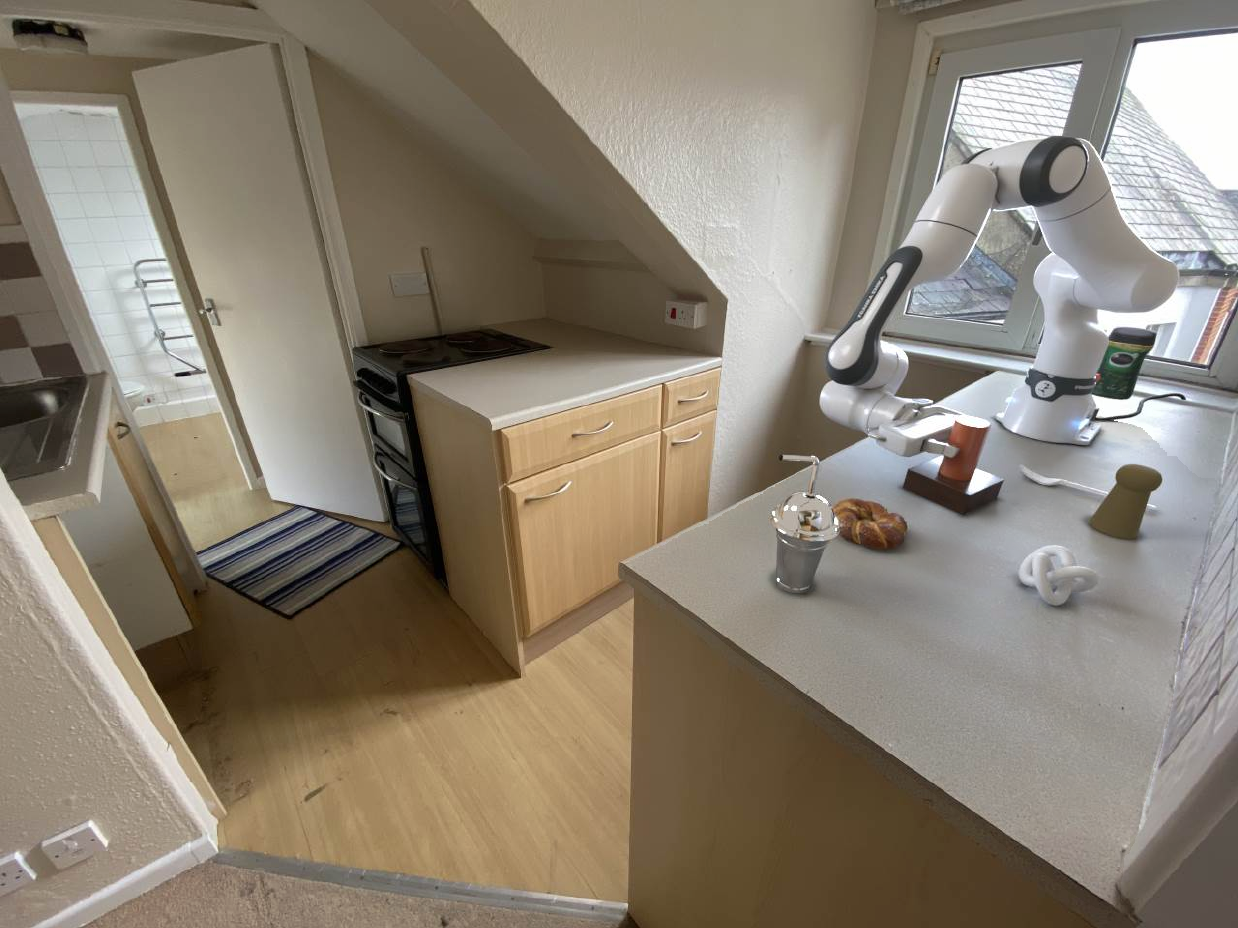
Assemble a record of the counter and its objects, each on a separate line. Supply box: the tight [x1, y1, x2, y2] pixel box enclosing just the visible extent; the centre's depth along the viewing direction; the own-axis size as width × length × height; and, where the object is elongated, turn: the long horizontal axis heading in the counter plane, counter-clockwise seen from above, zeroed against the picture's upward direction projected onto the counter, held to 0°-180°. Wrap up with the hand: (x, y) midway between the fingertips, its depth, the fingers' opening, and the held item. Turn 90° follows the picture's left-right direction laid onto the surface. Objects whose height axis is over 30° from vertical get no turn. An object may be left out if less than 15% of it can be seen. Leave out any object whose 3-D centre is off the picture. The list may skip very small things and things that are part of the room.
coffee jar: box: [1091, 326, 1157, 401], centre depth 142 cm, size 10×8×19 cm
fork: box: [1018, 463, 1157, 511], centre depth 96 cm, size 3×20×2 cm, turn 47°
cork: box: [1088, 463, 1163, 540], centre depth 83 cm, size 6×6×11 cm
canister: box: [939, 415, 992, 481], centre depth 91 cm, size 5×5×10 cm
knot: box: [1018, 544, 1100, 607], centre depth 70 cm, size 8×8×6 cm
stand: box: [902, 455, 1005, 516], centre depth 94 cm, size 11×11×4 cm
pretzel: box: [832, 497, 908, 550], centre depth 83 cm, size 12×11×4 cm
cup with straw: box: [770, 454, 840, 595], centre depth 68 cm, size 8×9×20 cm
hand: (970, 447), depth 90 cm, fingers open, 7 cm apart
